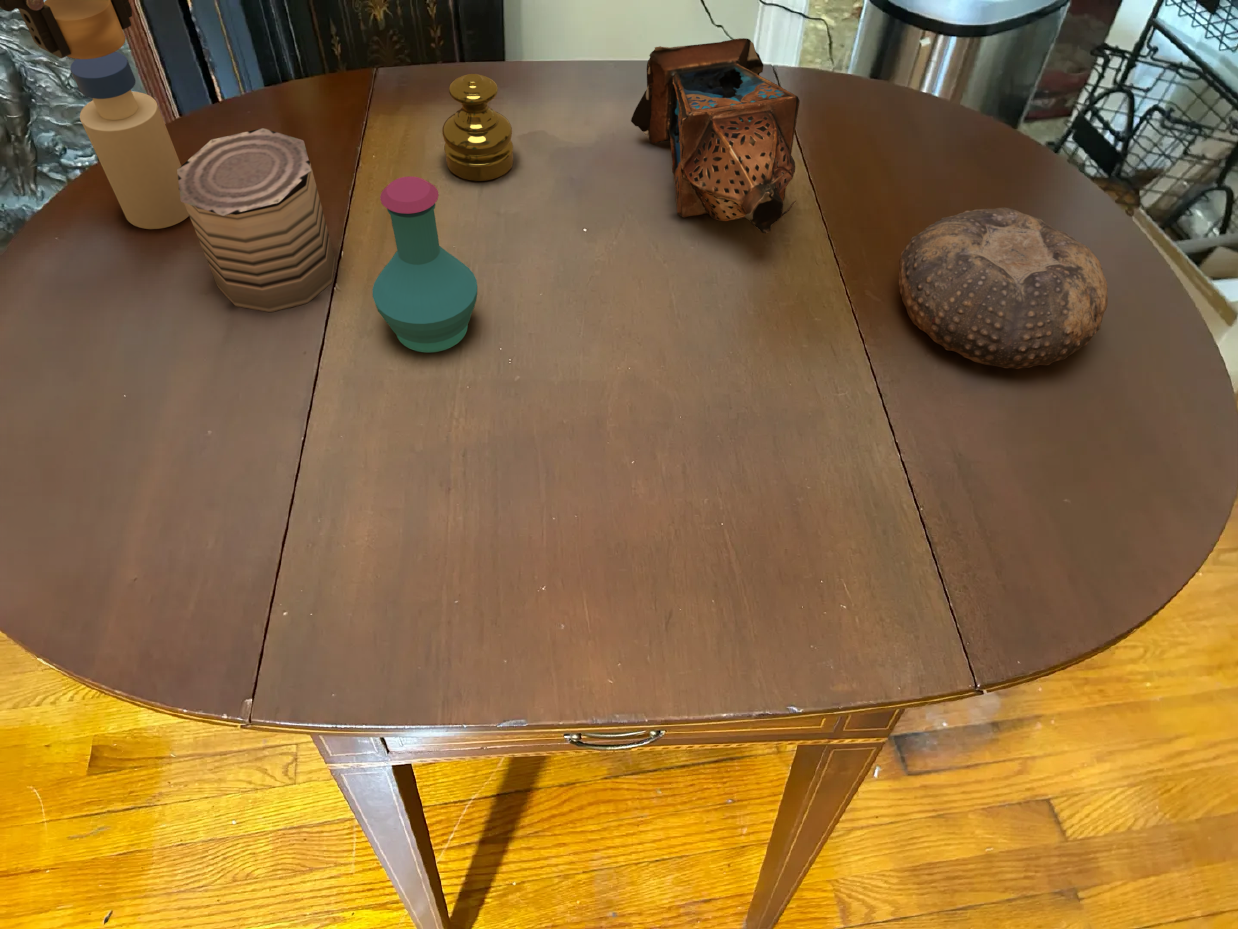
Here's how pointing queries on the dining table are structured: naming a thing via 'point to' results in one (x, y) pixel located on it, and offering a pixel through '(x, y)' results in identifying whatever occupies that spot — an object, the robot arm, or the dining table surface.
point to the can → (259, 219)
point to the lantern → (721, 130)
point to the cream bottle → (130, 142)
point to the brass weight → (477, 132)
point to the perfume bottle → (422, 274)
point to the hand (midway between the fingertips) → (89, 38)
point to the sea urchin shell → (1002, 288)
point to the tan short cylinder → (88, 27)
